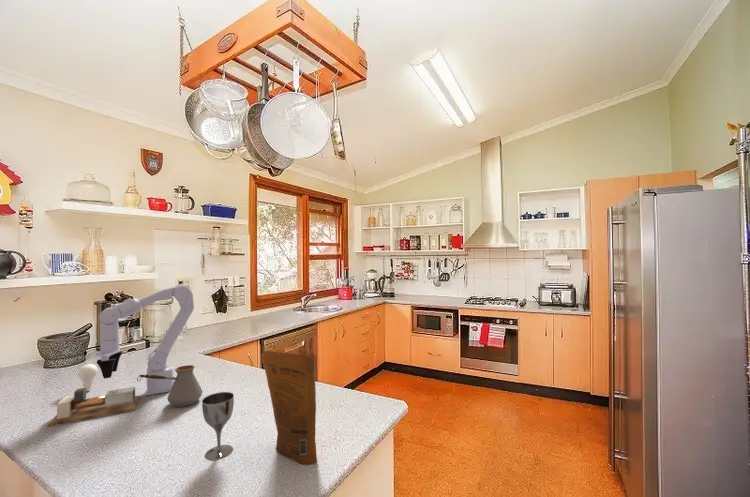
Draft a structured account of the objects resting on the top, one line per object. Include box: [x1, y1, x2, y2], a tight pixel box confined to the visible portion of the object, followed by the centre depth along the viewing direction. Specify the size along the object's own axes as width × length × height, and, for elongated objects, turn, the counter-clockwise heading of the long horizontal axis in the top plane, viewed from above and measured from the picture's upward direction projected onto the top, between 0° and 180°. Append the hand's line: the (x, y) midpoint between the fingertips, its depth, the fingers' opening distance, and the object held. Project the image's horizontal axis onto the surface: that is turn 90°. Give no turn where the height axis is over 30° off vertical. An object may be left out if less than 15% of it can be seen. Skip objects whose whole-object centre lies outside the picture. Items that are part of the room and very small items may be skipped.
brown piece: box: [71, 387, 105, 410], centre depth 118 cm, size 14×3×6 cm, turn 116°
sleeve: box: [104, 386, 136, 409], centre depth 122 cm, size 8×5×5 cm, turn 116°
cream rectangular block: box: [56, 394, 75, 419], centre depth 115 cm, size 3×7×5 cm, turn 26°
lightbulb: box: [77, 363, 99, 392], centre depth 137 cm, size 6×6×11 cm
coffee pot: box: [136, 364, 204, 408], centre depth 121 cm, size 21×12×15 cm, turn 148°
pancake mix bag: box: [261, 350, 318, 466], centre depth 90 cm, size 7×19×28 cm, turn 54°
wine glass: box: [201, 391, 235, 461], centre depth 92 cm, size 8×8×15 cm
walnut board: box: [47, 394, 141, 427], centre depth 119 cm, size 23×12×1 cm, turn 116°
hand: (110, 374), depth 128 cm, fingers open, 7 cm apart
